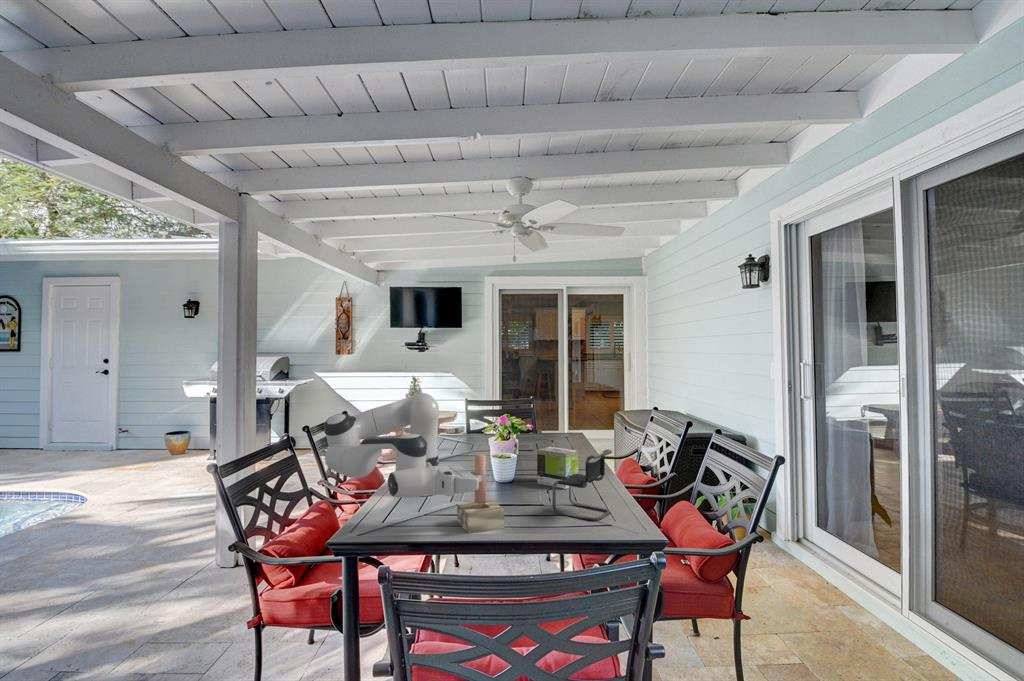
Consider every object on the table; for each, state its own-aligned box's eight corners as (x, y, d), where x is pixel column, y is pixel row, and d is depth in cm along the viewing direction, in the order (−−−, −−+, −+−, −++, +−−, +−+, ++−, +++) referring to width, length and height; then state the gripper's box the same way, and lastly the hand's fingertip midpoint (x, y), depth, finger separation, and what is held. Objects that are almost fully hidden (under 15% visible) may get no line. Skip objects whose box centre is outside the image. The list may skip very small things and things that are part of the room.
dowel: (473, 501, 169) (473, 455, 169) (483, 499, 171) (483, 454, 171) (476, 504, 166) (476, 457, 166) (487, 502, 167) (487, 456, 167)
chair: (596, 522, 170) (596, 455, 171) (551, 513, 181) (551, 449, 181) (613, 512, 181) (613, 449, 181) (570, 504, 191) (570, 444, 191)
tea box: (579, 485, 218) (579, 449, 218) (565, 490, 210) (565, 453, 210) (550, 479, 228) (550, 445, 228) (536, 483, 220) (536, 448, 220)
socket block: (457, 521, 172) (457, 503, 172) (491, 517, 176) (491, 499, 176) (468, 533, 160) (468, 514, 161) (504, 528, 165) (504, 509, 165)
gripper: (433, 481, 173) (472, 477, 178) (450, 498, 154) (493, 493, 159) (433, 463, 173) (472, 459, 178) (450, 476, 154) (493, 472, 159)
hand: (482, 475), depth 169 cm, fingers closed on dowel, 4 cm apart
